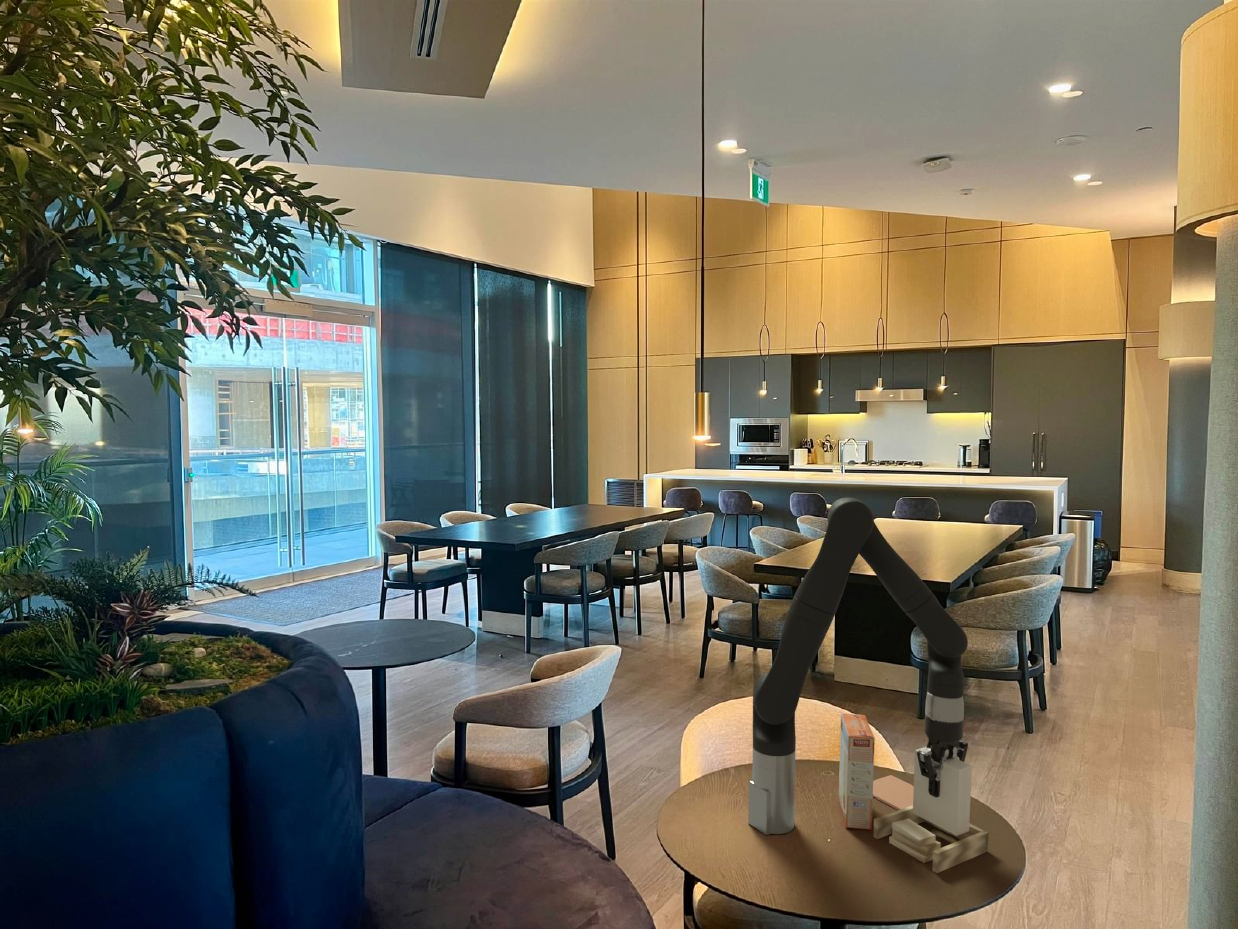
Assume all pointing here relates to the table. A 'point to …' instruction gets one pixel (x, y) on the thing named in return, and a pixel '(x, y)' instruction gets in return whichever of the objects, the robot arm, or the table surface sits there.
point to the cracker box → (856, 771)
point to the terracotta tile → (893, 792)
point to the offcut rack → (945, 856)
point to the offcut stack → (914, 840)
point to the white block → (945, 796)
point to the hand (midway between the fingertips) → (941, 793)
